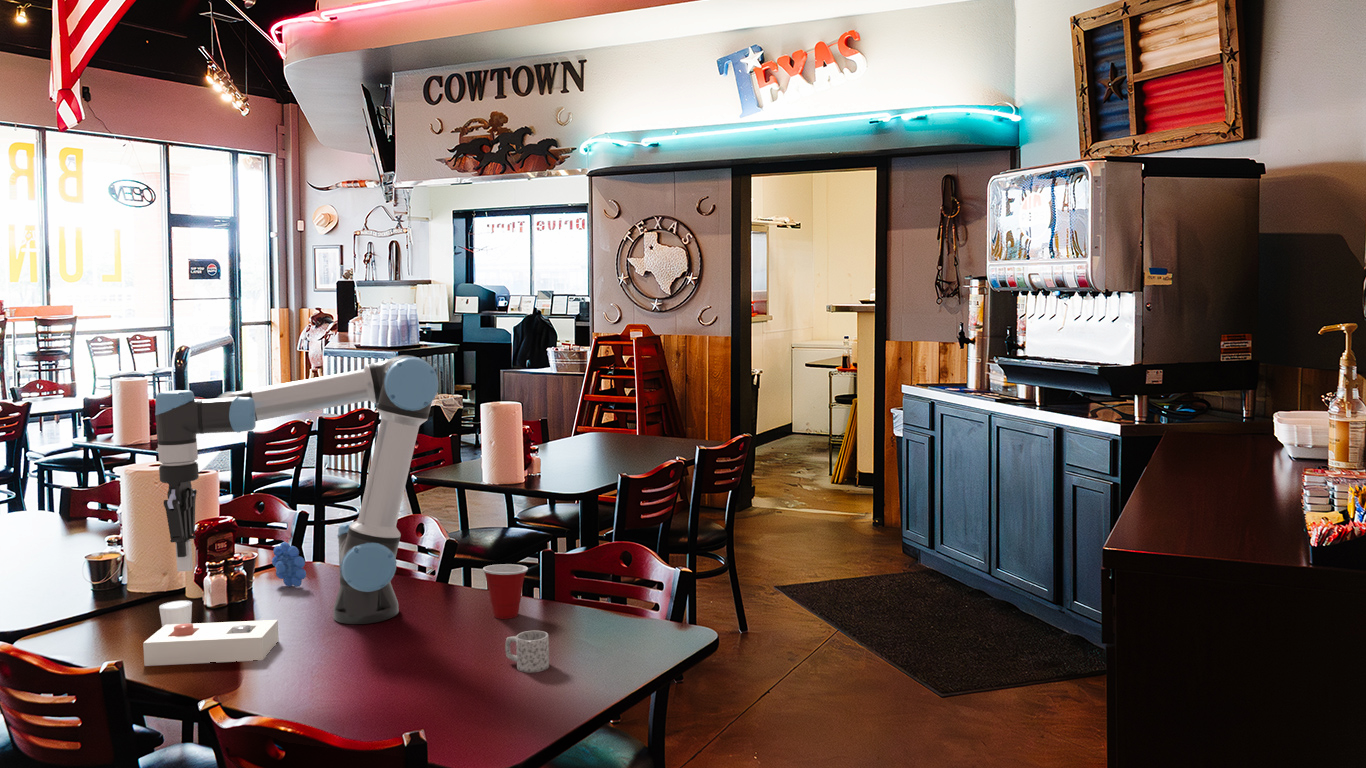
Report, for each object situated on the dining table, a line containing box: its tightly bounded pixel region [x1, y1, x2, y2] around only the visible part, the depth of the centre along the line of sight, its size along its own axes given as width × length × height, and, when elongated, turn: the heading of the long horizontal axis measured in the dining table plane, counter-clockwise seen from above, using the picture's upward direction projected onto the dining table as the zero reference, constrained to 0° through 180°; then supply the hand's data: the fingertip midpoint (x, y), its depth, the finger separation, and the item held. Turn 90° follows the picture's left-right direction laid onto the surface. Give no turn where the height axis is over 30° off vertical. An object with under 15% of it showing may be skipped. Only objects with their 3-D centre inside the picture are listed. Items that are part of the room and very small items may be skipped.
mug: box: [504, 630, 550, 674], centre depth 211 cm, size 10×7×7 cm, turn 66°
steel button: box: [232, 625, 251, 634], centre depth 221 cm, size 4×4×5 cm
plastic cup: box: [482, 563, 529, 620], centre depth 245 cm, size 11×11×12 cm
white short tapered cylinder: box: [158, 599, 193, 628], centre depth 234 cm, size 7×7×7 cm
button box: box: [142, 619, 280, 667], centre depth 220 cm, size 24×12×5 cm, turn 97°
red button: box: [174, 623, 194, 636], centre depth 219 cm, size 4×4×5 cm
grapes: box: [271, 541, 307, 588], centre depth 271 cm, size 12×7×12 cm, turn 63°
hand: (185, 570), depth 219 cm, fingers closed
